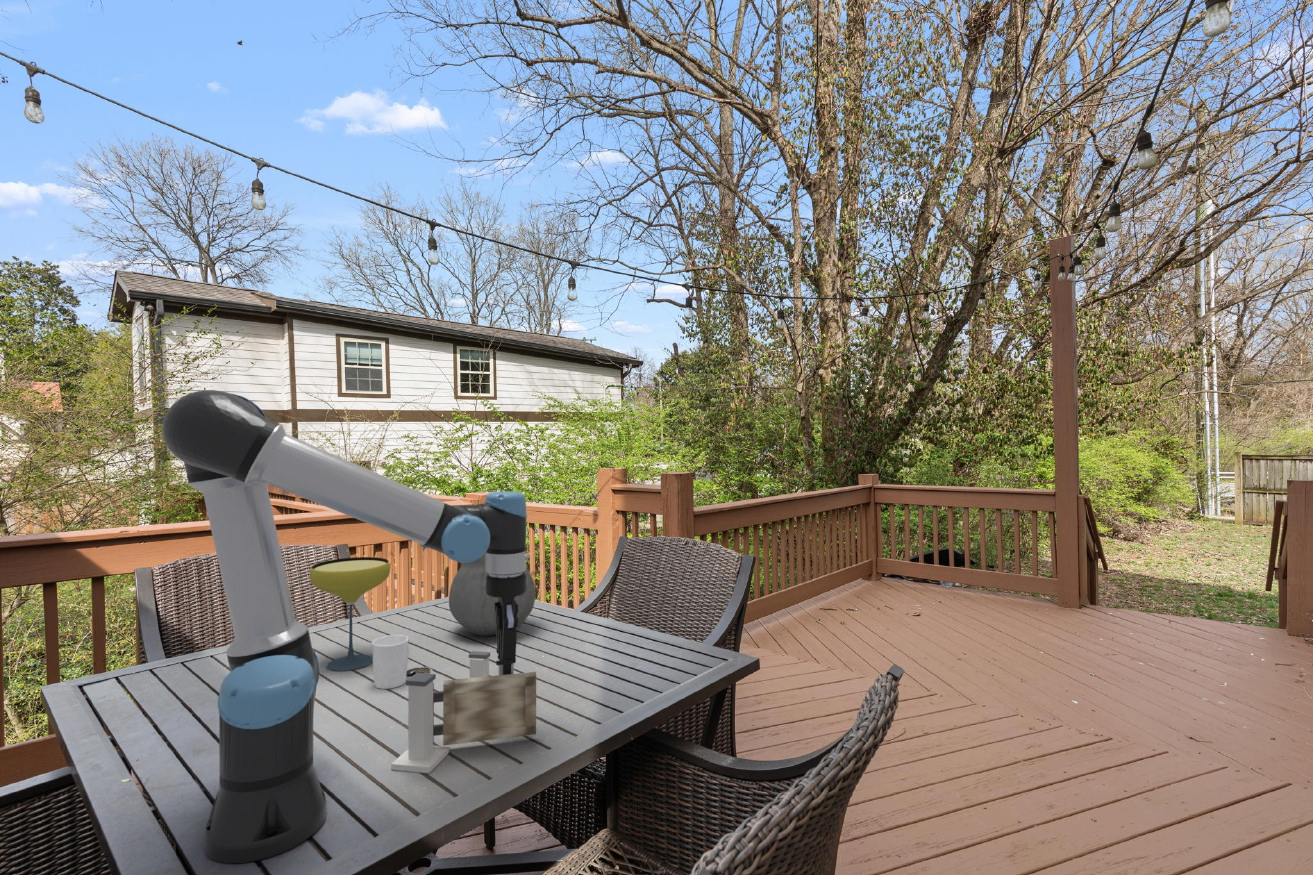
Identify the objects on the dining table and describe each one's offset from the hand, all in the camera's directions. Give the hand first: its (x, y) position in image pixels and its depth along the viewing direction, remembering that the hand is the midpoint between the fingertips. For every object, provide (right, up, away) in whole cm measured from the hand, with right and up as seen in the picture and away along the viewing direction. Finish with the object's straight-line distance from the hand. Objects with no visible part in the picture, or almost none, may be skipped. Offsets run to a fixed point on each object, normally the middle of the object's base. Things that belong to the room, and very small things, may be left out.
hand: (505, 695), depth 120 cm
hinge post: (-13, -8, -10) cm, 18 cm away
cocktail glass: (-48, -7, +37) cm, 61 cm away
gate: (-3, -6, -5) cm, 8 cm away
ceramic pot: (-19, -7, +62) cm, 65 cm away
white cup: (-33, -8, +25) cm, 42 cm away
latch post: (-9, -7, +14) cm, 18 cm away
